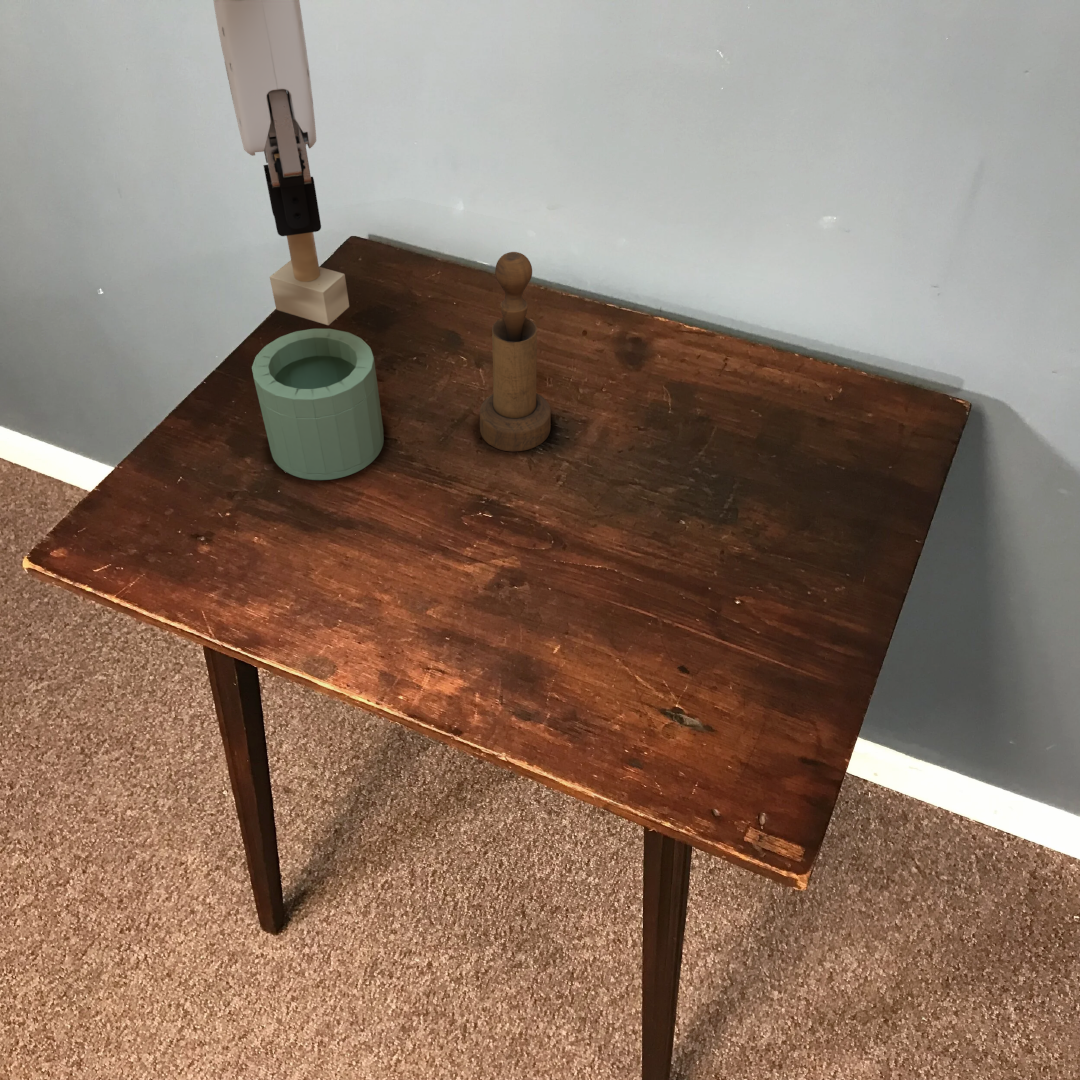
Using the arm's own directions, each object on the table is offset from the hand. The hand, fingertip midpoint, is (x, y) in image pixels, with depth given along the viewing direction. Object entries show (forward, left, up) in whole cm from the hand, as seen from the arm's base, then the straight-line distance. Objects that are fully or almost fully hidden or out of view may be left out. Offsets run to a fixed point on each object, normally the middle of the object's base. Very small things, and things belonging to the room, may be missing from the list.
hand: (296, 221), depth 77 cm
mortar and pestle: (+16, -1, -23) cm, 28 cm away
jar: (-1, +2, -23) cm, 23 cm away
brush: (0, 0, -8) cm, 8 cm away
